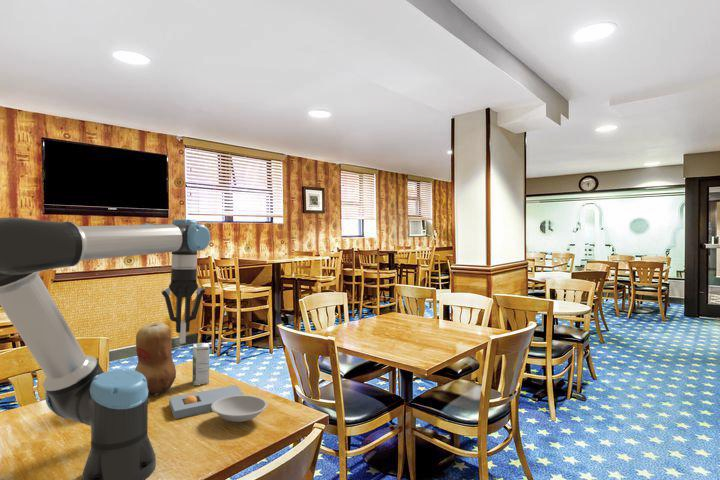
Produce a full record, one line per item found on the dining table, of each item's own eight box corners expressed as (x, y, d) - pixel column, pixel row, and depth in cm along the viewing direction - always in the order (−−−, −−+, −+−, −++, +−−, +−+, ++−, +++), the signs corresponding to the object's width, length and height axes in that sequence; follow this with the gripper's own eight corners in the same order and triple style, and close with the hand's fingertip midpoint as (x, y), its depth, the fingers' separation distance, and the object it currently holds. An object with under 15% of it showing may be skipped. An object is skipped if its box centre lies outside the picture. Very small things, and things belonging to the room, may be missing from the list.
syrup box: (192, 381, 158) (192, 343, 158) (208, 378, 161) (208, 342, 160) (193, 386, 153) (192, 347, 153) (209, 383, 155) (209, 345, 155)
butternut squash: (124, 398, 141) (123, 326, 141) (154, 384, 154) (153, 318, 154) (156, 403, 137) (156, 329, 137) (184, 389, 150) (184, 321, 150)
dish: (277, 415, 129) (277, 399, 129) (250, 436, 116) (250, 419, 115) (230, 407, 135) (230, 392, 135) (199, 426, 122) (199, 409, 121)
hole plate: (245, 403, 138) (245, 396, 138) (174, 419, 126) (174, 411, 126) (235, 391, 148) (235, 384, 148) (169, 405, 136) (169, 397, 136)
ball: (197, 409, 133) (199, 397, 134) (184, 410, 131) (186, 398, 132) (194, 405, 137) (196, 393, 137) (182, 406, 135) (183, 393, 135)
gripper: (203, 267, 137) (201, 338, 136) (160, 267, 130) (158, 342, 130) (208, 268, 130) (206, 342, 130) (162, 269, 124) (160, 347, 123)
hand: (182, 342), depth 130 cm, fingers closed
